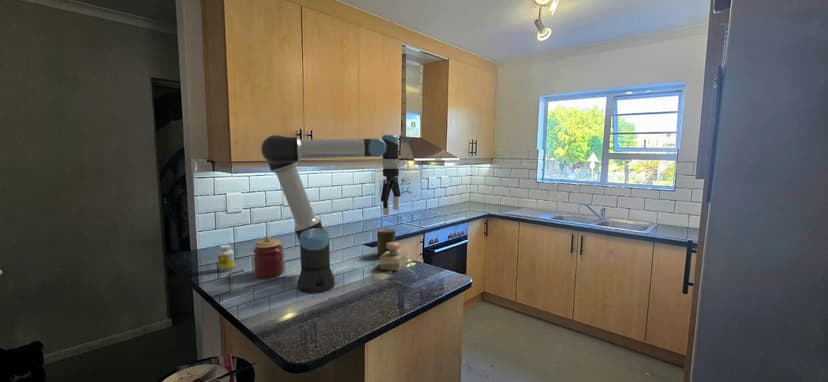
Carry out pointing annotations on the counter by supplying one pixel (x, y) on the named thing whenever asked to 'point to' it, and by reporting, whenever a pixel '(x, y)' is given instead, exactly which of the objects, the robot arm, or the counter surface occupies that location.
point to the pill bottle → (226, 258)
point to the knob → (393, 248)
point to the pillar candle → (384, 239)
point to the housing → (392, 261)
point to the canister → (268, 258)
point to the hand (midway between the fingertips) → (391, 212)
